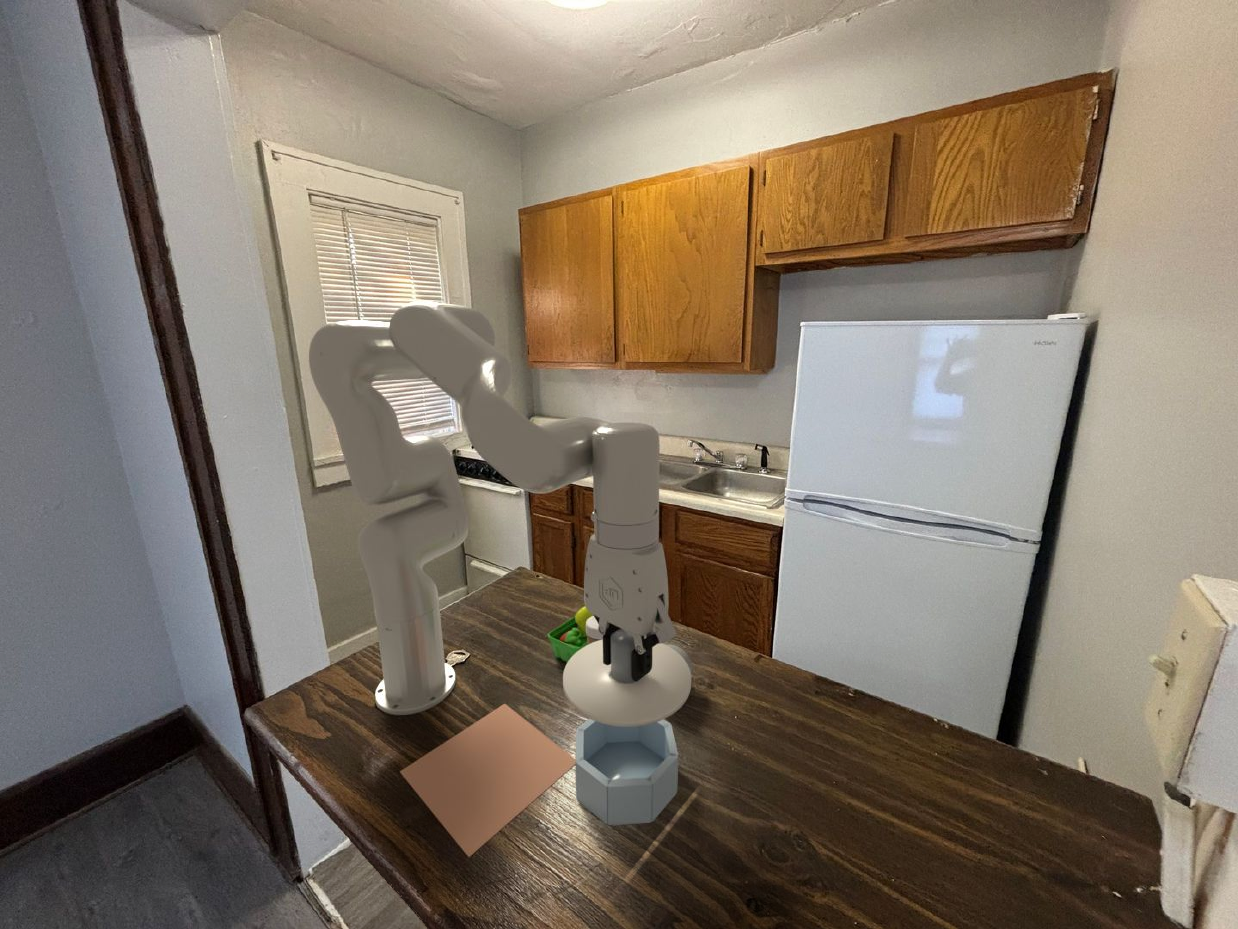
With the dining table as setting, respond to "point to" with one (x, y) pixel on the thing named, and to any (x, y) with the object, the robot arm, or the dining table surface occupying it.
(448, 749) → the mat
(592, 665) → the lid
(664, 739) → the bowl
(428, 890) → the dining table surface
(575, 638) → the fruit basket
